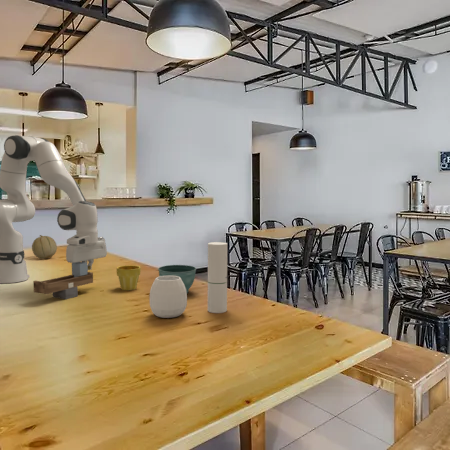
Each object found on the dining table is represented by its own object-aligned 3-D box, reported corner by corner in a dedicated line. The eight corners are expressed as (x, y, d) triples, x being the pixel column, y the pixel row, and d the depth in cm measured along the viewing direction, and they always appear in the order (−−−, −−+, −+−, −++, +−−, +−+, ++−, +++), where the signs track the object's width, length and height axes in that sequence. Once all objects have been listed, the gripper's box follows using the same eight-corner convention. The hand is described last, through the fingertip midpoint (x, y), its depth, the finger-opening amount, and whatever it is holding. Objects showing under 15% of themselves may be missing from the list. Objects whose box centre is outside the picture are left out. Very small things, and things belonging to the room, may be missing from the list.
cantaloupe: (51, 260, 259) (50, 236, 258) (27, 260, 259) (26, 236, 258) (61, 257, 274) (60, 234, 273) (38, 256, 274) (37, 233, 273)
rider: (72, 278, 180) (71, 263, 179) (79, 276, 183) (79, 261, 183) (80, 279, 178) (80, 264, 177) (87, 277, 181) (87, 262, 180)
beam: (33, 301, 166) (32, 280, 165) (80, 289, 186) (80, 270, 186) (46, 304, 162) (46, 283, 161) (94, 291, 183) (93, 272, 182)
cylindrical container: (229, 308, 158) (230, 242, 156) (223, 313, 152) (223, 245, 150) (211, 306, 161) (212, 241, 159) (204, 311, 154) (205, 244, 152)
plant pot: (134, 292, 183) (134, 269, 182) (112, 290, 185) (112, 268, 184) (144, 286, 193) (144, 265, 192) (123, 285, 195) (122, 264, 194)
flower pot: (203, 292, 182) (203, 268, 181) (175, 299, 171) (175, 273, 170) (179, 286, 193) (179, 263, 192) (150, 292, 182) (150, 268, 181)
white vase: (156, 322, 141) (156, 283, 140) (144, 312, 153) (144, 276, 152) (192, 317, 147) (192, 279, 146) (179, 308, 159) (178, 272, 158)
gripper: (99, 235, 194) (100, 265, 195) (63, 240, 176) (64, 273, 177) (109, 236, 191) (110, 267, 192) (74, 241, 173) (74, 274, 174)
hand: (87, 270), depth 184 cm, fingers closed
